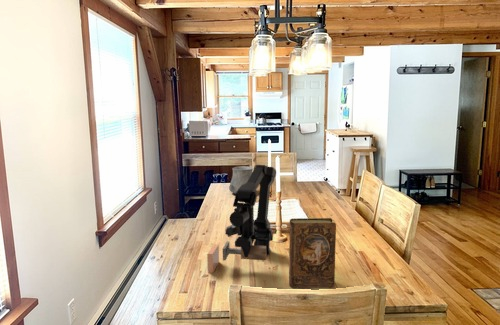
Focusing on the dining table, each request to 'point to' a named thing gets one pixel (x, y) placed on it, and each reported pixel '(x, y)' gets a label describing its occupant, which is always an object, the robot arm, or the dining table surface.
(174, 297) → the dining table surface
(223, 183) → the dining table surface
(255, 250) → the scraper
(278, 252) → the dining table surface
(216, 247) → the tile
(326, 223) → the book
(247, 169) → the vessel
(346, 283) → the dining table surface
